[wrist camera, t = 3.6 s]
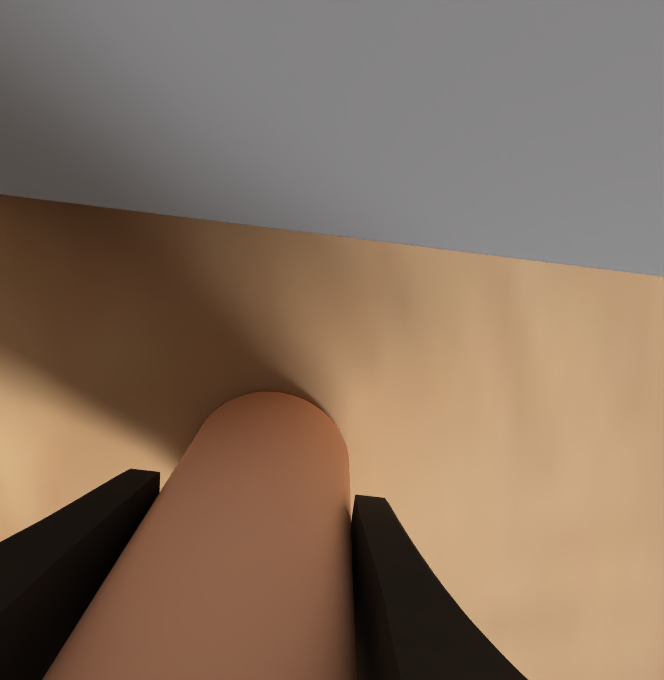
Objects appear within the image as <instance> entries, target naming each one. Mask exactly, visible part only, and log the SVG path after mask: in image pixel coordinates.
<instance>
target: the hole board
mask: <svg viewBox="0 0 664 680" xmlns="http://www.w3.org/2000/svg"><path fill="white" fill-rule="evenodd" d="M0 194H2V195H10V196H18V197H26V198H34V199H42V200H50V201H58V202H66V203H74V204H82V205H90V206H99V207H107V208H115V209H123V210H131V211H139V212H147V213H155V214H163V215H171V216H179V217H187V218H195V219H203V220H211V221H219V222H227V223H235V224H243V225H252V226H260V227H268V228H276V229H284V230H292V231H300V232H308V233H316V234H324V235H332V236H340V237H348V238H356V239H364V240H372V241H380V242H388V243H396V244H405V245H413V246H421V247H429V248H437V249H445V250H453V251H461V252H469V253H477V254H485V255H493V256H501V257H509V258H517V259H525V260H533V261H541V262H549V263H558V264H566V265H574V266H582V267H590V268H598V269H606V270H614V271H622V272H630V273H638V274H646V275H654V276H662V277H664V0H0Z"/></svg>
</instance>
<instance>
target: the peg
mask: <svg viewBox="0 0 664 680" xmlns="http://www.w3.org/2000/svg"><path fill="white" fill-rule="evenodd" d="M42 680H357V676H356V648H355V620H354V592H353V564H352V538H351V507H350V479H349V458H348V452H347V447H346V444H345V442H344V439H343V437H342V435H341V433H340V431H339V429H338V428H337V426H336V425H335V424H334V422H333V421H332V420H331V419H330V418H329V417H328V416H327V415H326V414H325V413H324V412H323V411H322V410H320V409H319V408H318V407H316V406H315V405H313V404H311V403H310V402H308V401H306V400H304V399H301V398H299V397H296V396H293V395H290V394H286V393H280V392H268V391H266V392H255V393H249V394H245V395H242V396H239V397H236V398H234V399H232V400H230V401H228V402H226V403H224V404H223V405H221V406H220V407H218V408H217V409H216V410H215V411H214V412H213V413H211V415H210V416H209V417H208V418H207V419H206V420H205V422H204V423H203V425H202V426H201V428H200V430H199V431H198V433H197V434H196V436H195V438H194V439H193V441H192V442H191V444H190V445H189V447H188V449H187V450H186V452H185V453H184V455H183V457H182V458H181V460H180V461H179V463H178V465H177V466H176V468H175V469H174V471H173V472H172V474H171V476H170V477H169V479H168V480H167V482H166V484H165V485H164V487H163V488H162V490H161V492H160V493H159V495H158V496H157V498H156V500H155V501H154V503H153V504H152V506H151V507H150V509H149V511H148V512H147V514H146V515H145V517H144V519H143V520H142V522H141V523H140V525H139V527H138V528H137V530H136V531H135V533H134V534H133V536H132V538H131V539H130V541H129V542H128V544H127V546H126V547H125V549H124V550H123V552H122V554H121V555H120V557H119V558H118V560H117V562H116V563H115V565H114V566H113V568H112V569H111V571H110V573H109V574H108V576H107V577H106V579H105V581H104V582H103V584H102V585H101V587H100V589H99V590H98V592H97V593H96V595H95V596H94V598H93V600H92V601H91V603H90V604H89V606H88V608H87V609H86V611H85V612H84V614H83V616H82V617H81V619H80V620H79V622H78V624H77V625H76V627H75V628H74V630H73V631H72V633H71V635H70V636H69V638H68V639H67V641H66V643H65V644H64V646H63V647H62V649H61V651H60V652H59V654H58V655H57V657H56V658H55V660H54V662H53V663H52V665H51V666H50V668H49V670H48V671H47V673H46V674H45V676H44V678H43V679H42Z"/></svg>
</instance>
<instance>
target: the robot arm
mask: <svg viewBox="0 0 664 680" xmlns="http://www.w3.org/2000/svg"><path fill="white" fill-rule="evenodd" d="M159 492H160V472H155V471H146V470H137V469H129V470H127V471H125V472H123V473H122V474H120V475H118V476H116V477H114V478H113V479H111V480H109V481H108V482H106V483H104V484H103V485H101V486H99V487H97V488H96V489H94V490H92V491H91V492H89V493H87V494H86V495H84V496H82V497H81V498H79V499H77V500H75V501H74V502H72V503H70V504H69V505H67V506H65V507H63V508H62V509H60V510H58V511H57V512H55V513H53V514H51V515H50V516H48V517H46V518H44V519H43V520H41V521H39V522H37V523H35V524H33V525H31V526H30V527H28V528H26V529H24V530H22V531H20V532H18V533H16V534H15V535H13V536H11V537H9V538H7V539H5V540H3V541H1V542H0V680H42V679H43V678H44V676H45V674H46V673H47V671H48V670H49V668H50V666H51V665H52V663H53V662H54V660H55V658H56V657H57V655H58V654H59V652H60V651H61V649H62V647H63V646H64V644H65V643H66V641H67V639H68V638H69V636H70V635H71V633H72V631H73V630H74V628H75V627H76V625H77V624H78V622H79V620H80V619H81V617H82V616H83V614H84V612H85V611H86V609H87V608H88V606H89V604H90V603H91V601H92V600H93V598H94V596H95V595H96V593H97V592H98V590H99V589H100V587H101V585H102V584H103V582H104V581H105V579H106V577H107V576H108V574H109V573H110V571H111V569H112V568H113V566H114V565H115V563H116V562H117V560H118V558H119V557H120V555H121V554H122V552H123V550H124V549H125V547H126V546H127V544H128V542H129V541H130V539H131V538H132V536H133V534H134V533H135V531H136V530H137V528H138V527H139V525H140V523H141V522H142V520H143V519H144V517H145V515H146V514H147V512H148V511H149V509H150V507H151V506H152V504H153V503H154V501H155V500H156V498H157V496H158V495H159ZM351 538H352V564H353V592H354V620H355V648H356V676H357V680H528V679H527V678H526V677H525V676H523V675H522V674H521V673H520V672H519V671H518V670H517V669H516V668H515V667H514V666H513V665H512V664H511V663H510V662H509V661H508V660H507V659H506V658H505V657H504V656H503V655H502V654H501V653H500V652H499V650H498V649H497V648H496V647H495V646H494V645H493V644H492V643H491V642H490V641H489V640H488V639H487V638H486V636H485V635H484V634H483V633H482V632H481V631H480V630H479V629H478V628H477V627H476V626H475V625H474V623H473V622H472V621H471V620H470V619H469V618H468V617H467V615H466V614H465V613H464V612H463V611H462V609H461V608H460V607H459V606H458V604H457V603H456V602H455V601H454V599H453V598H452V597H451V595H450V594H449V593H448V592H447V590H446V589H445V588H444V586H443V585H442V584H441V582H440V581H439V580H438V578H437V577H436V576H435V574H434V573H433V571H432V570H431V569H430V567H429V566H428V564H427V563H426V561H425V560H424V559H423V557H422V556H421V554H420V553H419V551H418V550H417V548H416V547H415V545H414V544H413V542H412V541H411V539H410V538H409V536H408V534H407V533H406V531H405V530H404V528H403V526H402V525H401V523H400V522H399V520H398V518H397V517H396V515H395V513H394V512H393V510H392V508H391V506H390V505H389V503H388V502H387V500H386V499H385V498H380V497H372V496H363V495H355V500H354V507H353V514H352V520H351Z"/></svg>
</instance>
